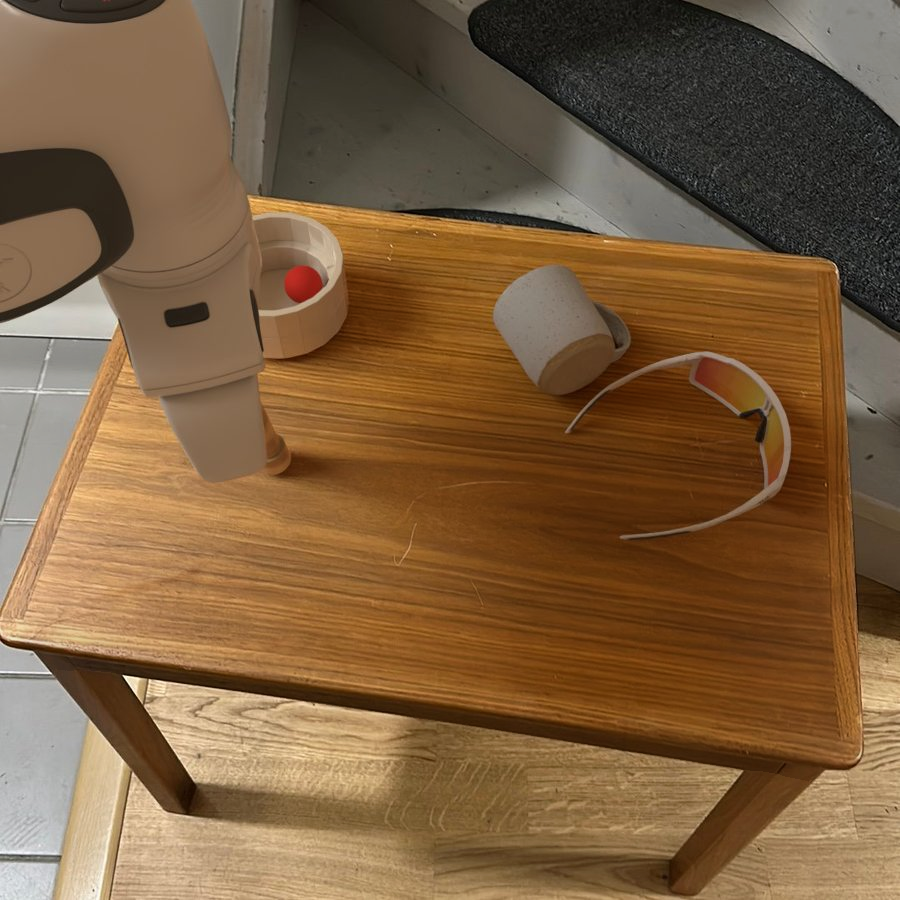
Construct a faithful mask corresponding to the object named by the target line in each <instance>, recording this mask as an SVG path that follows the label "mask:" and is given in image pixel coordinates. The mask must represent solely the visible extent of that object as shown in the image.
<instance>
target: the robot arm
mask: <svg viewBox="0 0 900 900" xmlns="http://www.w3.org/2000/svg"><path fill="white" fill-rule="evenodd" d="M201 23H202V22H201V21H200V18H199V16H198V14H197V12H196V10H195V8H194V5H193V3H192V1H191V0H0V324H3V323H6V322H10V321H13V320H15V319H19V318H21V317H24V316H25V315H28V314H31V313H33V312H35V311H37V310H40V309H41V308H44V307H46V306H48V305H51V304H52V303H55V302H56V301H59V300H60V299H62V298H64V297H65V296H67V295H68V294H70V293H71V292H73V291H75V290H76V289H78V288H80V287H81V286H83V285H84V284H86V283H87V282H89V281H91V280H93V279H94V278H96V277H97V280H98V283H99V286H100V288H101V290H102V292H103V294H104V297H105V299H106V301H107V303H108V305H109V307H110V309H111V310H112V312H113V314H114V315H115V317H116V319H117V322H118V325H119V328H120V330H121V334H122V338H123V340H124V345H125V348H126V352H127V356H128V361H129V364H130V365H131V368H132V371H133V374H134V377H135V378H134V379H135V380H136V383H137V386H138V387H139V389H140V391H141V394H142V395H143V396H144V397H145V398H148V399H151V398H152V399H153V398H158V400H159V404H160V406H161V409H162V411H163V413H164V416H165V418H166V420H167V423H168V424H169V426H170V428H171V430H172V432H173V434H174V436H175V437H176V440H177V442H178V444H179V445H180V446H181V448H182V450H183V452H184V453H185V455H186V457H187V459H188V460H189V462H190V463H191V465H192V467H193V469H194V470H195V472H196V473H197V475H198V476H199V477H200V478H201V480H203V481H205V482H207V483H210V484H215V483H224V482H225V483H226V482H230V481H235V480H238V479H239V480H240V479H241V478H245V477H249V476H252V475H255V474H257V473H259V472H262V471H261V470H262V469H263V468H264V467H265V465H266V461H267V451H266V441H265V432H264V424H263V415H262V407H261V403H262V401H261V400H262V399H261V393H260V383H259V377H258V376H259V375H258V374H260V373H263V372H264V371H265V369H266V362H265V358H264V357H263V351H264V348H263V343H262V337H261V331H260V321H259V311H258V301H259V291H260V273H261V268H262V257H261V251H260V247H259V243H258V239H257V235H256V230H255V226H254V221H253V217H252V216H253V213H252V209H251V205H250V204H251V203H250V200H249V198H248V191H247V189H246V185H245V183H244V180H243V178H242V176H241V174H240V172H239V171H238V168H237V167H236V165H235V164H234V163H233V162H232V157H231V152H232V145H233V144H232V143H233V139H232V138H233V130H232V125H231V120H230V115H229V111H228V107H227V104H226V98H225V95H224V92H223V88H222V85H221V80H220V77H219V74H218V70H217V67H216V64H215V61H214V58H213V54H212V51H211V49H210V45H209V42H208V39H207V37H206V34H205V31H204V29H203V26H202V24H201Z"/></svg>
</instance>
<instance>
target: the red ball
mask: <svg viewBox="0 0 900 900" xmlns="http://www.w3.org/2000/svg"><path fill="white" fill-rule="evenodd" d="M322 287H323V284H322V279H321V276H320V275H319V273H318V272H317V271H316V270H315V269H313V268H312V267H309V266H305V265H301V266H296V267H294V268H292V269H291V270H290V271H289V272H288V273H287V275H286V277H285V280H284V288H285V291H286V293H287V295H288V296H289V298H290V299H292V300H293V301H295V302H297V303H300V304H301V303H303V302H305V301H307V300H309V299H311V298H313V297H314V296H315V295H316V294H317V293H318V292H320V291H321V290H322Z"/></svg>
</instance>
